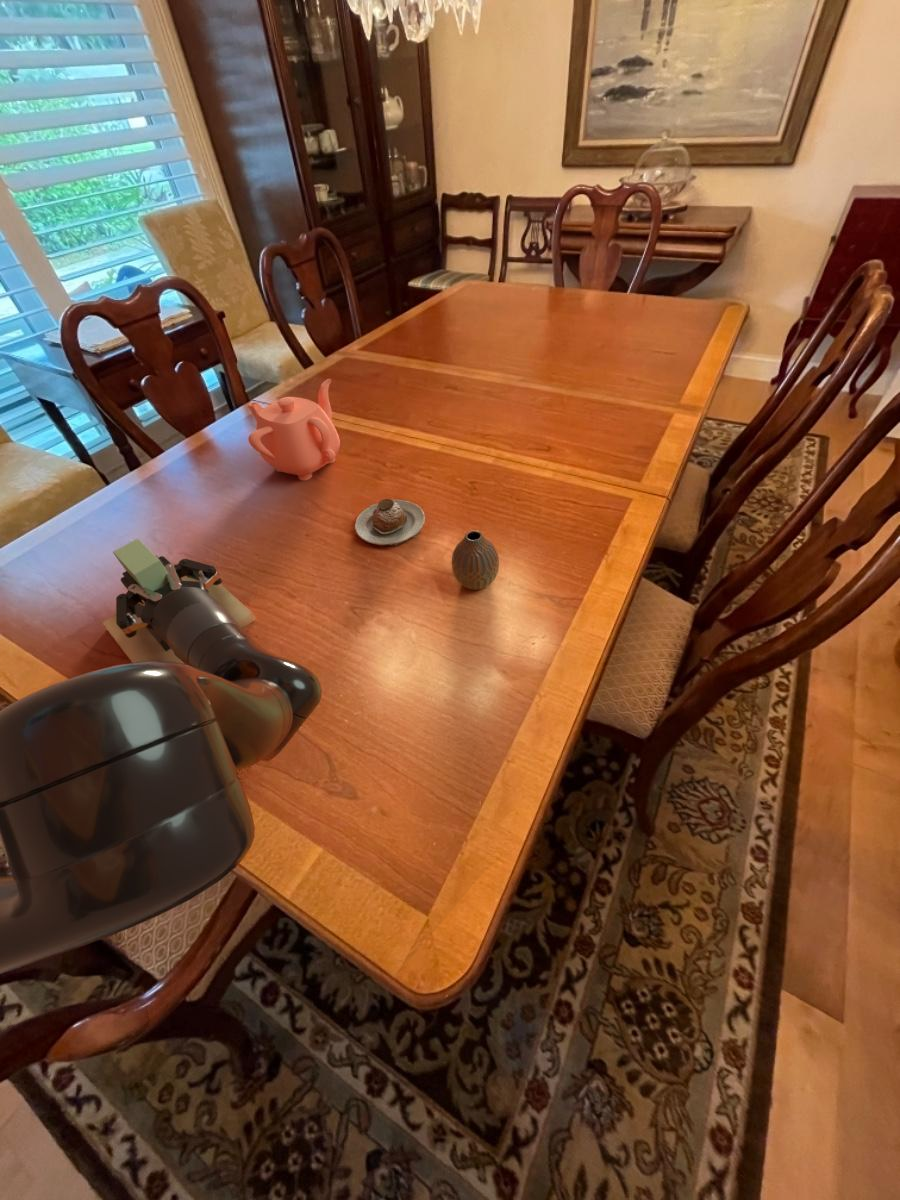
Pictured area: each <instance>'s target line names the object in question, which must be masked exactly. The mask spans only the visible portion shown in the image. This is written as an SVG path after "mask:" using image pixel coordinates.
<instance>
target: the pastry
mask: <svg viewBox="0 0 900 1200" xmlns="http://www.w3.org/2000/svg"><path fill="white" fill-rule="evenodd" d="M425 521H426V515H425V513H424V510H423V509H422V507H420V506H419V504H417V503H414V502H411V501H408V500H404V499H390V498H384V499H381V500H380V501H378V502H377V503H375V504H372V505H369V506H368V507H367V508H366V509H363V510H362V511H361V512H360V513H359V515H358V516H357V517H356V519H355V524H354V530H355V532H356V534H357V536H358V537H359V538H360V539H361V540H362V541H364V542H367V543H369V544H373V545H376V546H380V547H387V546H389V547H397V546H398V545H401V544H403V543H404V542H407V541H408V540H411V539H414V537H416V536H418V535H419V532H420V531H421V530H422V528H423V527H424V525H425Z"/></svg>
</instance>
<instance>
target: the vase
mask: <svg viewBox="0 0 900 1200" xmlns="http://www.w3.org/2000/svg"><path fill="white" fill-rule="evenodd" d="M499 568H500V558H499V554H498V551H497V548H496V547H495V545H494V544H493V543H492V541H490V539H488V538H486V537H485V536H484V535H483V533H482V532H481V531H480V530H476V529H474V530H473V529H472V530H469V531H467V532H466V533H465V535H464V537H463V538H462V539H461V540H460V541H459V542H458V543H457V544H456V545H455V548H454V549H453V552H452V556H451V570H452V574H453V576H454V578H455V579H456V581H457V582H458V583H459V584H460V585H461V587H464V588H466V589H468V590H473V591H479V590H483V589H485V588H487V587H489V586H490V585H492V583H493V582H494V581H495V579H496V578H497V576H498V573H499Z"/></svg>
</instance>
